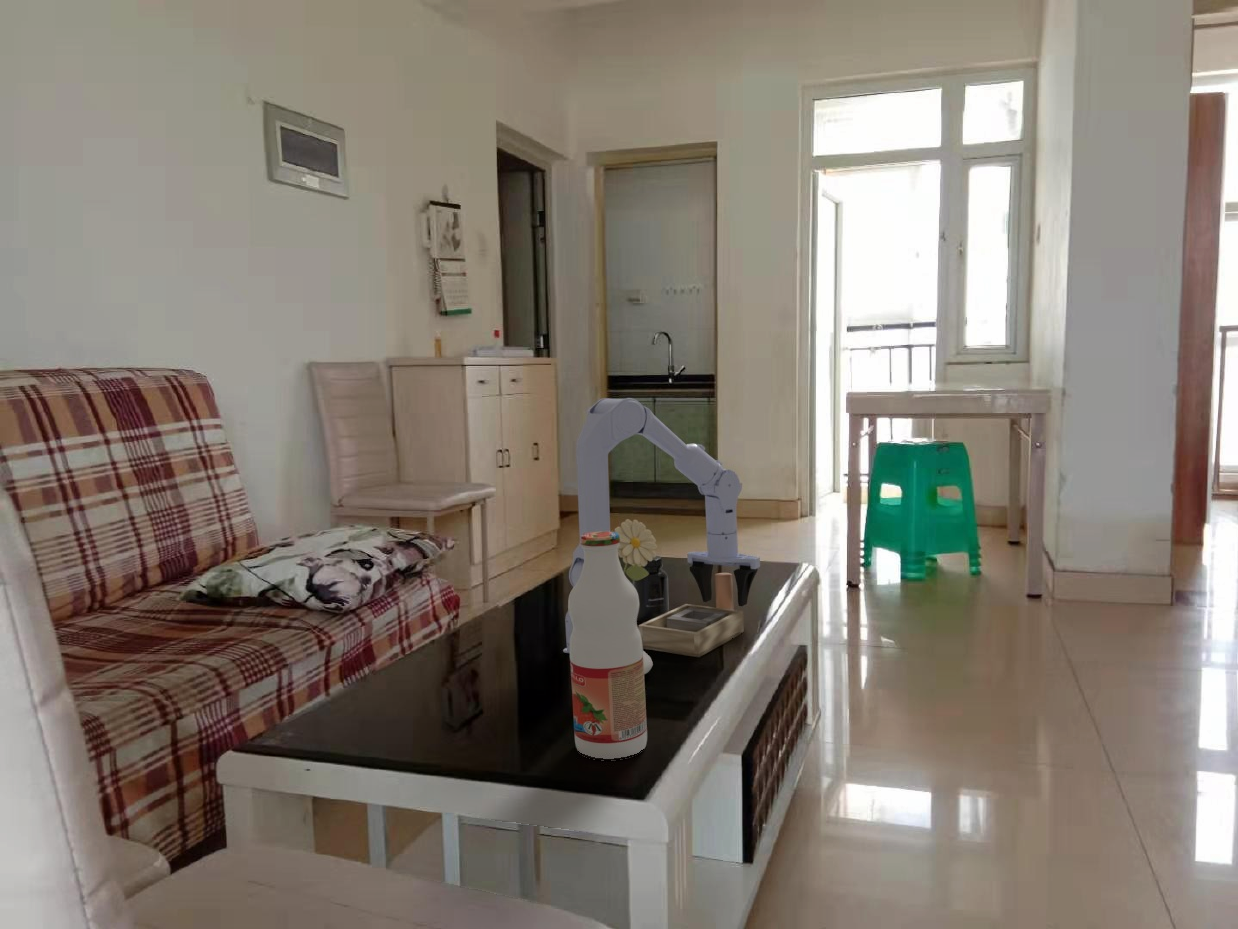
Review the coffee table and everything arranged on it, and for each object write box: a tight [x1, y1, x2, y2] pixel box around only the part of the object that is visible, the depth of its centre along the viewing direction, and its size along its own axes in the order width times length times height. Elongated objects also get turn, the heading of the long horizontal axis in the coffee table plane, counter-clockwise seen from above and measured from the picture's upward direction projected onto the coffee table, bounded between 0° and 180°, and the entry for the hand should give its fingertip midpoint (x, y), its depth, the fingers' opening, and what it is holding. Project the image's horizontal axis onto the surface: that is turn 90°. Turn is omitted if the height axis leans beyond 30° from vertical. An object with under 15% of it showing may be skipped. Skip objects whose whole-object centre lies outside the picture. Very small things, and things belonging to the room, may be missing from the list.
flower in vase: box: [614, 518, 658, 675], centre depth 147 cm, size 13×11×25 cm
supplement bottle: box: [632, 555, 670, 623], centre depth 180 cm, size 7×7×12 cm
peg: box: [714, 572, 734, 610], centre depth 176 cm, size 3×3×9 cm
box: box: [637, 603, 745, 658], centre depth 165 cm, size 16×12×4 cm
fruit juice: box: [567, 531, 648, 759], centre depth 119 cm, size 9×9×28 cm
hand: (724, 602), depth 176 cm, fingers open, 7 cm apart
